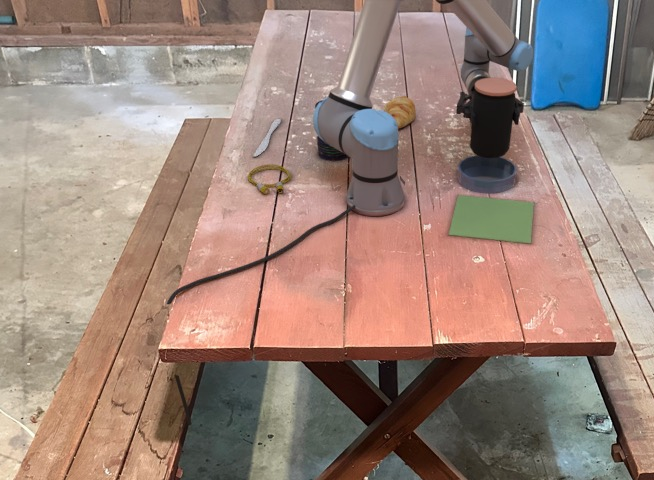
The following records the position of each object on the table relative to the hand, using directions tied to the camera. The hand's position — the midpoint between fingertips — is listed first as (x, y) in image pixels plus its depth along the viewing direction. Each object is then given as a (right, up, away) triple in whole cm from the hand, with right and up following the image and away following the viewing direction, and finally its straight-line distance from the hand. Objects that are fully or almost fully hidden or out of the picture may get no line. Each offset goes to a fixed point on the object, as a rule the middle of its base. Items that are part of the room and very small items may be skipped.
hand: (495, 120), depth 180 cm
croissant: (-24, +13, +48) cm, 55 cm away
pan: (0, -12, +15) cm, 20 cm away
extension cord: (-61, -13, +15) cm, 64 cm away
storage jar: (-44, -3, +28) cm, 52 cm away
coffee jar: (0, -6, +10) cm, 11 cm away
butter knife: (-65, +4, +36) cm, 74 cm away
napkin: (-1, -25, -1) cm, 25 cm away
